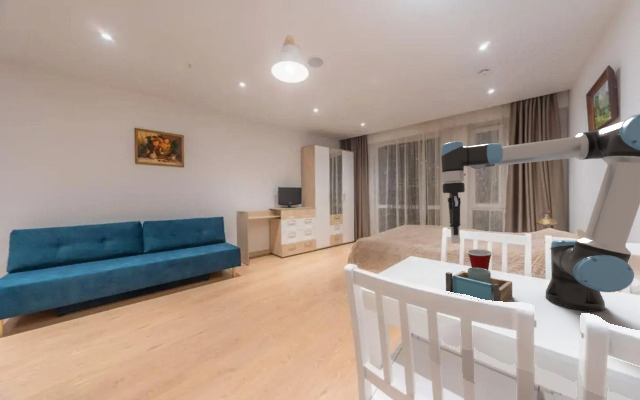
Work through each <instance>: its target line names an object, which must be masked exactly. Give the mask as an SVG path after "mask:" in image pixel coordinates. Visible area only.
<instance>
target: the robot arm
mask: <svg viewBox="0 0 640 400" xmlns="http://www.w3.org/2000/svg"><path fill="white" fill-rule="evenodd" d="M440 149H441V150H440V152H441V153H440V154H441V155H440V157H441V159H440V160H441V162H440V163H441V181H442V185H441V186H442V193H443V194H448V195H449V197H447V203H448V213H449V227H450V238H451V240H450V241H451V242H450V243H451V244H460V243H461V237H460V236H461V235H460V226H461V204H462V202H461V197H459V193H465V190H466V189H465V182H464V181H465V176H466V175H467V174H466V173H465V172H464V171H465V167H470V168H471V169H474V170H475V169H482V168H490V167H499V166H508V165H517V164H527V163H537V162H547V161H555V160H556V161H557V160H565V159H566V160H567V159H574V158H576V159H577V160H579V161H582V160H593V159H594V160H596V159H601V160H602V161H603V162H605V164H606V165H607V167H606V169H605V172H604V175H603V178H602V182H601V185H600V188H599V190H598V194H597V197H596V200H595V202H594V206H593V209H592V212H591V215H590V218H589V222H588V225H587V228H586V231H585V233H584V236H583V237H581V238H579V239H576V240H566V239H564V240H561V239H558V240H557V239H554V240H552V241H551V243H550V248H549V249H550V260H551V261H550V262H551V263H550V264H551V265H550V266H551V279H550V281H549V283H548V285H547V288H546V290H545V298H546V299H547V300H548V301H550V302H551V303H554V304H556V305H558V306H561V307H565V308H567V309H573V310H577V311H584V312H594V313H595V312H598V313H599V312H603V311H605V310H606V308H605V307H606V302H605V300H604V298H603V296H602V294H601V292H602V293H615V292H619V291H623V290H624V289H627V288H628V287H629V286H630V285H632V283H633V282H634V278H635V272H634V269H633V268H632V266H631V265H630V263H629V261H630V258H631V255H632V253H631V251H630V250H629V249H628V248H627V247H626V244H627V242H628V239H629V238H630V237H629V236H630V234H631V230H632V227H633V225H634V222H635V219H636V217H637V214H638V211H639V209H640V113H639V114H634V115H632V116H630V117H628V118H626V119H624V120H621V121H618V122H616V123H613V124H610V125H607V126H604V127H602V128H599V129H595V130H592V131H586V132H581V133H580V132H579V133H577V134H576V135H575V136H569V137H564V138H563V137H562V138H555V139H548V140H542V141H541V140H540V141H534V142H527V143H526V142H525V143H520V144H511V145H510V144H509V145H504V146H503V145H502V143H500V142H499V143H498V142H497V143H495V142H494V143H484V144H477V145H469V146H464V144H463V142H462V141H450V142H446V143H443V144H442V146H441V148H440Z"/></svg>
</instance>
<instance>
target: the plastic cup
mask: <svg viewBox="0 0 640 400" xmlns="http://www.w3.org/2000/svg"><path fill="white" fill-rule="evenodd" d="M466 253H467V254H468V257H469V261H470V268H483V269H487V270H489V268H490V260H491V257H492V254H493V252H492V250H491V251H490V250H488V249H480V248H479V249H468V250H467V251H466Z"/></svg>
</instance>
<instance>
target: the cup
mask: <svg viewBox="0 0 640 400" xmlns="http://www.w3.org/2000/svg"><path fill="white" fill-rule="evenodd" d="M467 272H468V279H472V280H477V281H481V282H485V283H489V284H491V277H492V276H491V274H492V273H491V271H490V270H489V269H488V270H487V269H483V268H472V267H468V268H467Z"/></svg>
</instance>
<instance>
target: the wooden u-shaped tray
mask: <svg viewBox="0 0 640 400" xmlns="http://www.w3.org/2000/svg"><path fill="white" fill-rule="evenodd" d="M454 275H455V276H460V277H464V278H468V271H464V270H462V271H459V272H458V273H456V274H454ZM454 275H453V272H449V271H447V272H445V292H446V291H450V292H453V276H454ZM491 284H492V301H493V300H494V301H503V302H506V303H507V302H509V300H511V298H512V297H513V281H510V280H506V279H501V278H497V277H492V276H491Z"/></svg>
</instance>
